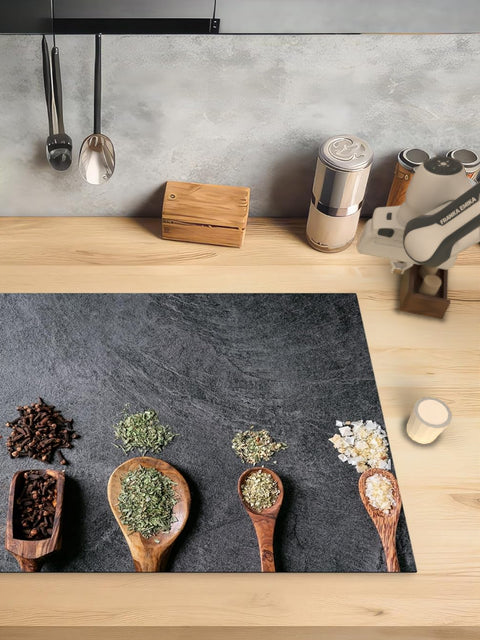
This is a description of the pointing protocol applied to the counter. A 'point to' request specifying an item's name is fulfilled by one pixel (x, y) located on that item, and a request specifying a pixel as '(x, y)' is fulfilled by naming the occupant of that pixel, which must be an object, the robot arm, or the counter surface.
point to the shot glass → (428, 420)
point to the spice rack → (424, 291)
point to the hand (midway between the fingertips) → (396, 271)
